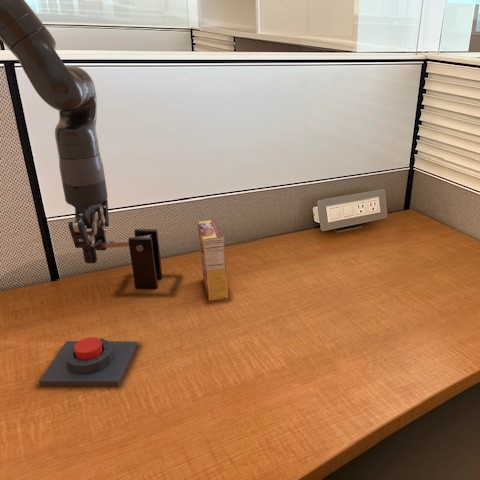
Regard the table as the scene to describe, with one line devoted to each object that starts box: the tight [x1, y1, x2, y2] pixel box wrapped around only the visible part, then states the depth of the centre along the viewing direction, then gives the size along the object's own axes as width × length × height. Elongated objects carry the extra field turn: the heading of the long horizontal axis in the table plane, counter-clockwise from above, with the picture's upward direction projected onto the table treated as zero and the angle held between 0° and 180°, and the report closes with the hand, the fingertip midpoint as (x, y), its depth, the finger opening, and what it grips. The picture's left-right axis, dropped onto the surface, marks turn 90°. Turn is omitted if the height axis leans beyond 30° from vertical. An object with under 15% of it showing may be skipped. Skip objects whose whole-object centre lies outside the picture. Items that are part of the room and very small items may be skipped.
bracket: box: [127, 228, 163, 290], centre depth 100 cm, size 11×8×13 cm
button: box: [74, 336, 103, 361], centre depth 78 cm, size 4×4×2 cm
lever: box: [94, 234, 153, 249], centre depth 98 cm, size 12×5×2 cm, turn 93°
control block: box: [38, 338, 138, 387], centre depth 79 cm, size 12×10×4 cm
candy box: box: [197, 219, 229, 302], centre depth 99 cm, size 9×4×15 cm, turn 20°
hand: (96, 255), depth 99 cm, fingers closed on lever, 5 cm apart
